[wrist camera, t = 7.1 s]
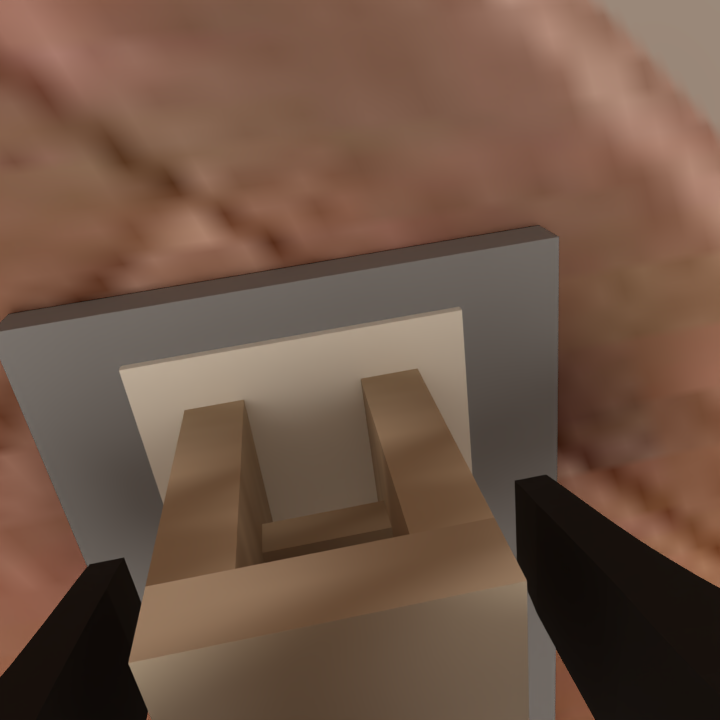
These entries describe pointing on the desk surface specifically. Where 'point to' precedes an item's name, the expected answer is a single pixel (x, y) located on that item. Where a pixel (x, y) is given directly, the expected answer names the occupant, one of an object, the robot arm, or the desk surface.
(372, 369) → the board
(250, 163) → the desk surface
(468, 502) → the tan u-shaped block
